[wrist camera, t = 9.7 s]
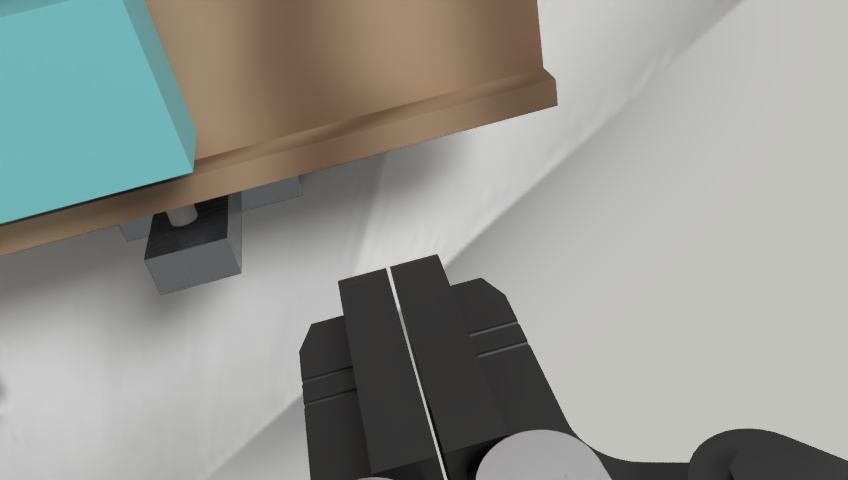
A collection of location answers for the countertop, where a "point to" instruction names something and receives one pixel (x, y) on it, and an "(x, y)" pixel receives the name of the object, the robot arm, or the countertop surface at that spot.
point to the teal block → (85, 104)
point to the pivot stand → (203, 237)
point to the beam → (317, 92)
